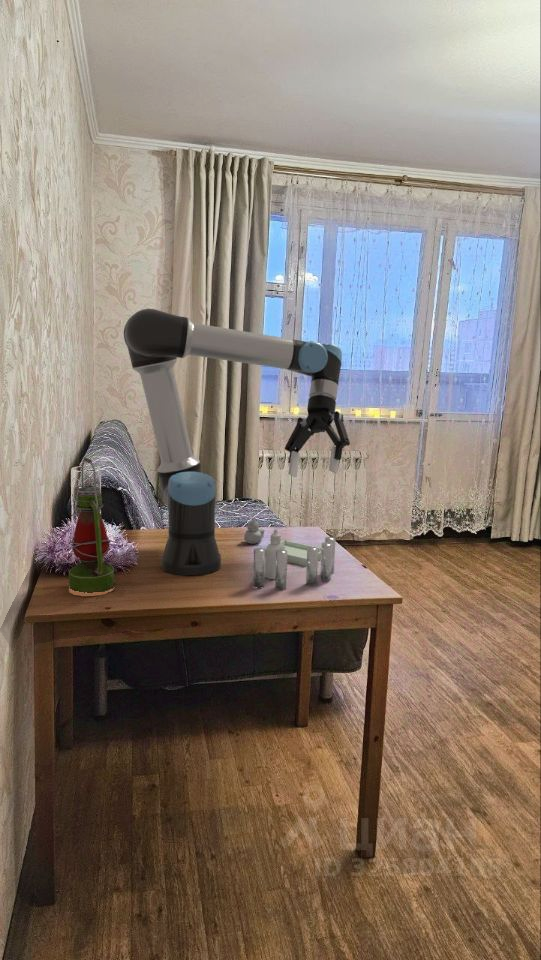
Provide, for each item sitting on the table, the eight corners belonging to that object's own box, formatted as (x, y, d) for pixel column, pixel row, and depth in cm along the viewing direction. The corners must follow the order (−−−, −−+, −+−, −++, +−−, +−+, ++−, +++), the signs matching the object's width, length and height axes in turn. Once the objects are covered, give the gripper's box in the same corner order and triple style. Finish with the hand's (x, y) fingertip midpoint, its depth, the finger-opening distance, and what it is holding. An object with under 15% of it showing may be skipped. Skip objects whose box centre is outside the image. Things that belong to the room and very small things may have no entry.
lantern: (125, 593, 142) (123, 461, 137) (78, 602, 136) (74, 465, 131) (104, 575, 154) (100, 453, 148) (59, 583, 148) (54, 456, 142)
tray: (262, 555, 172) (262, 548, 172) (284, 546, 181) (285, 539, 180) (306, 566, 164) (306, 559, 164) (327, 556, 173) (327, 549, 173)
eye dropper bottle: (260, 574, 157) (261, 528, 154) (281, 572, 159) (282, 526, 157) (267, 580, 153) (268, 532, 151) (288, 578, 155) (290, 530, 153)
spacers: (250, 585, 149) (251, 548, 148) (329, 570, 161) (331, 536, 160) (267, 595, 143) (268, 557, 141) (348, 579, 155) (349, 543, 154)
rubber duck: (239, 542, 184) (240, 515, 183) (258, 539, 188) (259, 512, 186) (249, 546, 180) (250, 519, 178) (269, 543, 183) (269, 516, 182)
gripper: (368, 397, 167) (359, 474, 161) (296, 410, 184) (285, 480, 178) (352, 386, 162) (342, 465, 156) (279, 401, 178) (268, 472, 173)
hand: (312, 473), depth 167 cm, fingers open, 13 cm apart
